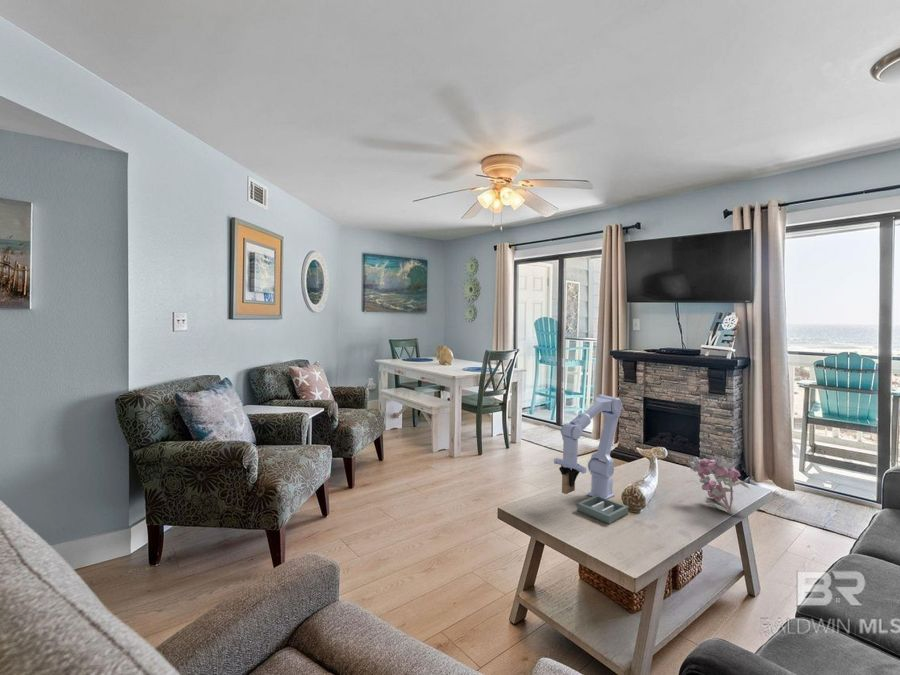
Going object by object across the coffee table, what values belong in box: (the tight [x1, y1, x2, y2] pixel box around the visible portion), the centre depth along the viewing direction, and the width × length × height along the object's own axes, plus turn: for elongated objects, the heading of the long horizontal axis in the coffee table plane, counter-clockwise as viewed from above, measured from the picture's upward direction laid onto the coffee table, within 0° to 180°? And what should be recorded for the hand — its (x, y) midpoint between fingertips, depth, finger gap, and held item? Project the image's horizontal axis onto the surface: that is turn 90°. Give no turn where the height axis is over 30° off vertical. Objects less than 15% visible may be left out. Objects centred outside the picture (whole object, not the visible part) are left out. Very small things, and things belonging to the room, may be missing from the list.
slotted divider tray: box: [576, 495, 629, 525], centre depth 176 cm, size 14×14×3 cm
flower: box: [687, 454, 750, 516], centre depth 185 cm, size 20×22×24 cm
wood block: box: [561, 473, 576, 495], centre depth 181 cm, size 6×2×8 cm, turn 129°
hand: (569, 485), depth 181 cm, fingers closed on wood block, 2 cm apart
